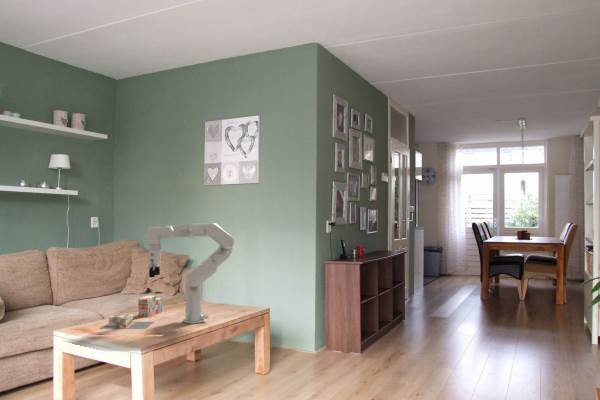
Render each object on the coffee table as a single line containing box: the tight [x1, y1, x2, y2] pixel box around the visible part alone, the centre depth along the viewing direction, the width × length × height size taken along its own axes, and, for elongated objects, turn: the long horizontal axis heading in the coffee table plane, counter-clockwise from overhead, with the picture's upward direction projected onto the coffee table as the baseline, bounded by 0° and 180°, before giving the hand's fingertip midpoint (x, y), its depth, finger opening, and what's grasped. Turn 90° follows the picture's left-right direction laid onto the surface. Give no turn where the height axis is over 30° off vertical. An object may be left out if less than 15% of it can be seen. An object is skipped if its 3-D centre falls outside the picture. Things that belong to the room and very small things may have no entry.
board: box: [99, 321, 155, 330], centre depth 288 cm, size 26×18×1 cm
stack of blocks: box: [138, 295, 163, 318], centre depth 321 cm, size 21×6×12 cm, turn 171°
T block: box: [108, 313, 134, 328], centre depth 288 cm, size 12×12×5 cm
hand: (154, 276), depth 296 cm, fingers open, 9 cm apart
